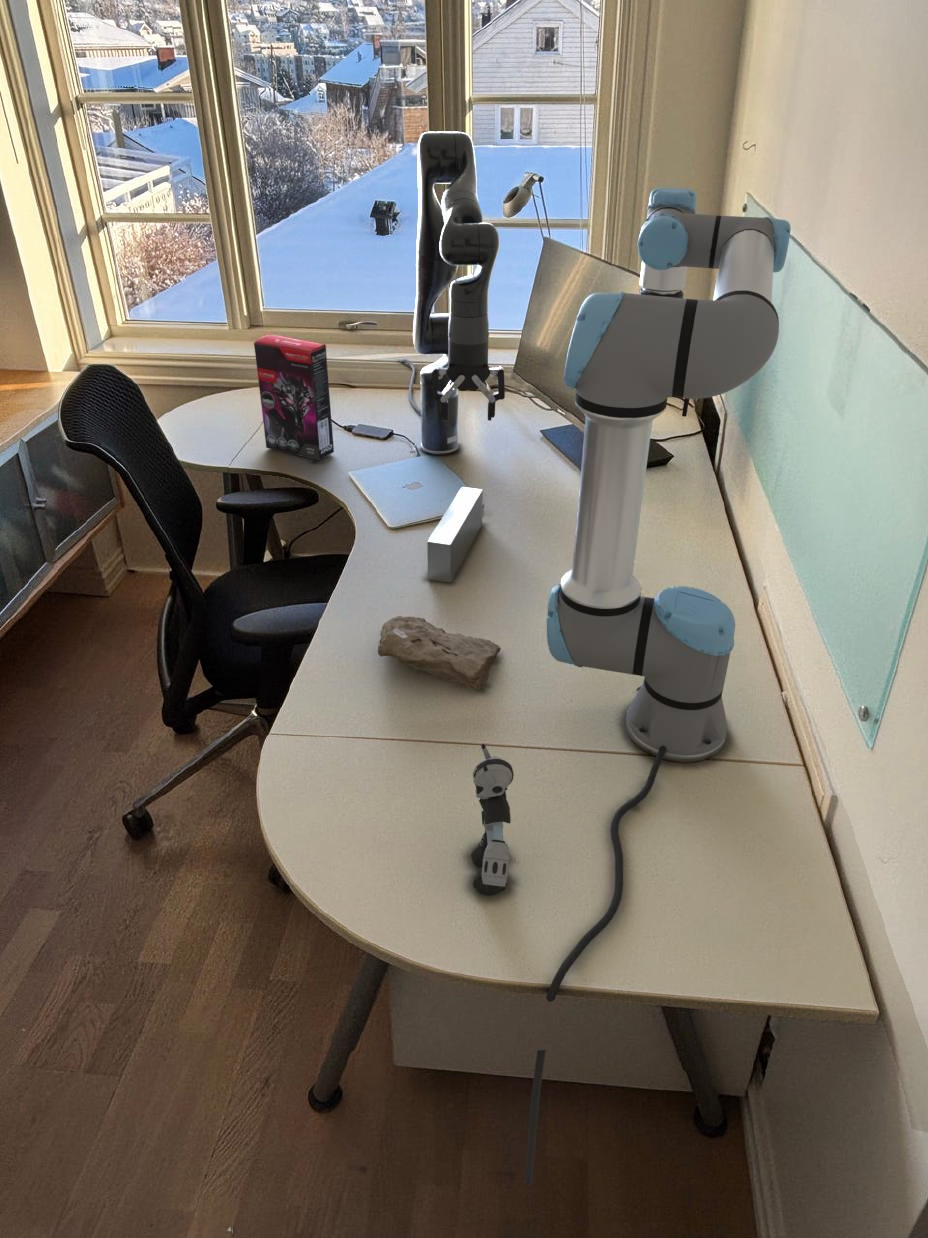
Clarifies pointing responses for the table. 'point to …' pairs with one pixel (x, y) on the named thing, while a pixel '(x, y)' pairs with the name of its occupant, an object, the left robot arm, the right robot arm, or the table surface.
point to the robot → (492, 823)
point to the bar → (454, 534)
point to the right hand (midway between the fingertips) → (646, 410)
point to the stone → (438, 651)
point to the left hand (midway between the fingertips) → (467, 419)
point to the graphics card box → (294, 396)
